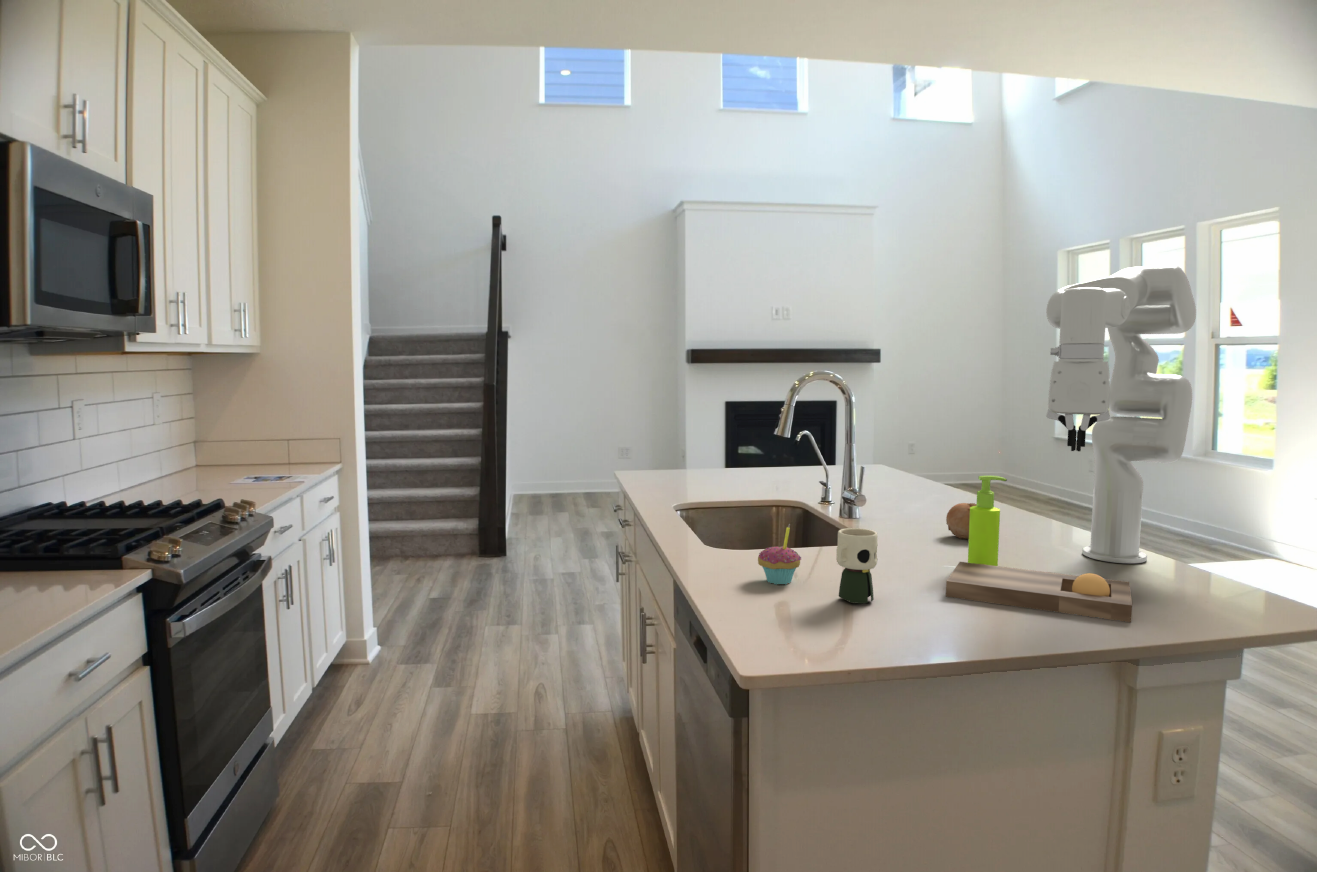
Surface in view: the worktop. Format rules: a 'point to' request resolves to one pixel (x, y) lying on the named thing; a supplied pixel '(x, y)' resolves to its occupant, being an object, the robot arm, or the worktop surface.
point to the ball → (1091, 585)
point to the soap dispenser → (984, 526)
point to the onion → (959, 520)
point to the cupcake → (779, 562)
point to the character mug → (856, 563)
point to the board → (1037, 591)
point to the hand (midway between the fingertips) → (1075, 450)
